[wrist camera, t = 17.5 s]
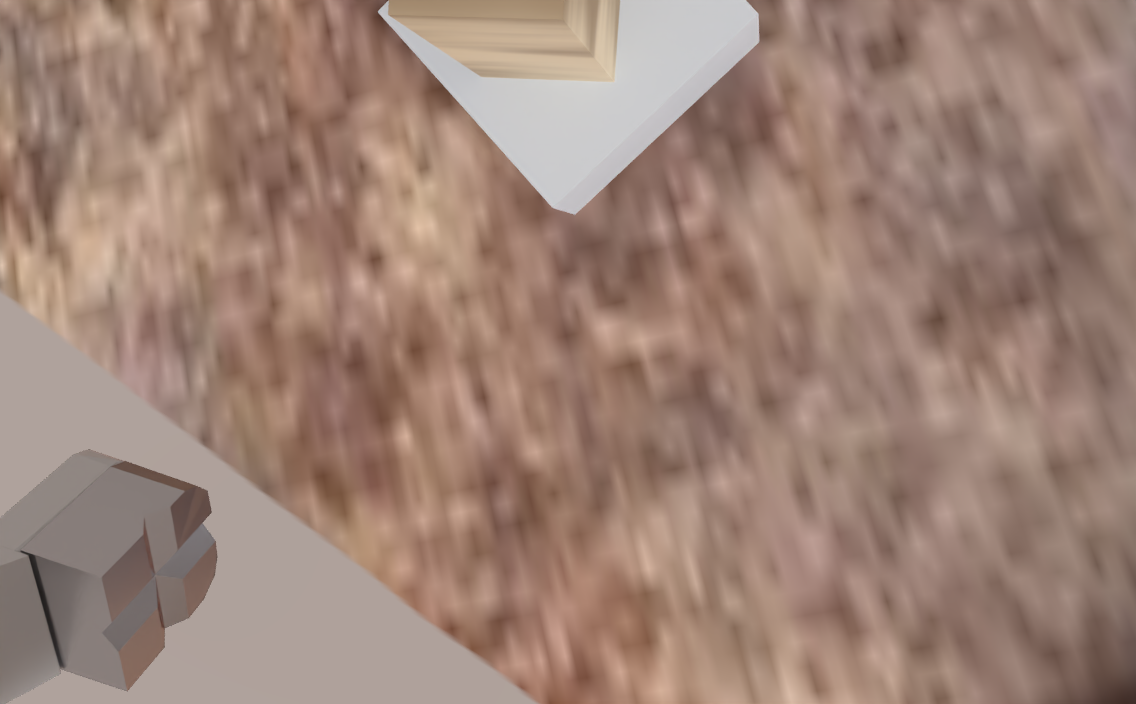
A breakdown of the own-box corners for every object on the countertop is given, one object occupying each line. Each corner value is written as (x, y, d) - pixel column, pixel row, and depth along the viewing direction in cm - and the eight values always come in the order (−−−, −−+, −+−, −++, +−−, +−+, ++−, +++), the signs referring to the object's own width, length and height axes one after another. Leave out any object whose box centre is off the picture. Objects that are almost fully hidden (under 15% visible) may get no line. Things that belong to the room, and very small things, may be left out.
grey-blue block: (593, -137, 44) (571, -189, 39) (759, 43, 43) (758, 13, 38) (419, 39, 45) (377, 11, 40) (576, 215, 45) (552, 207, 40)
